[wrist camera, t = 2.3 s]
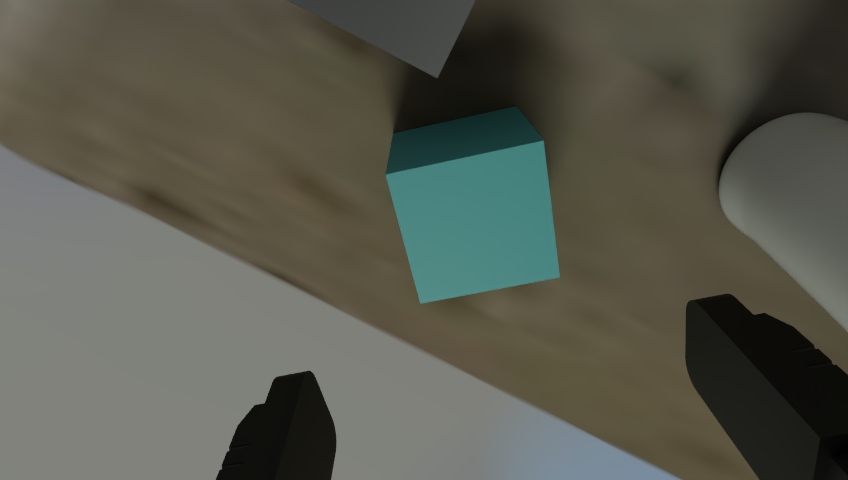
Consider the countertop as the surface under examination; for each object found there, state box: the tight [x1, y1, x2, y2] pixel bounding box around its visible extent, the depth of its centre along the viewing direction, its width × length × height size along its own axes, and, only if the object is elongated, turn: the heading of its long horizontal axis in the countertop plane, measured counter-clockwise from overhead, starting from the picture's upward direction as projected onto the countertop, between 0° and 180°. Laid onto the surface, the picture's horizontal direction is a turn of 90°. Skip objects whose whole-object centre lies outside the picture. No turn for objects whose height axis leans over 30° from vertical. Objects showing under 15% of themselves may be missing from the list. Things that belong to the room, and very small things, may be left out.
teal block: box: [386, 106, 560, 304], centre depth 19 cm, size 5×5×5 cm
